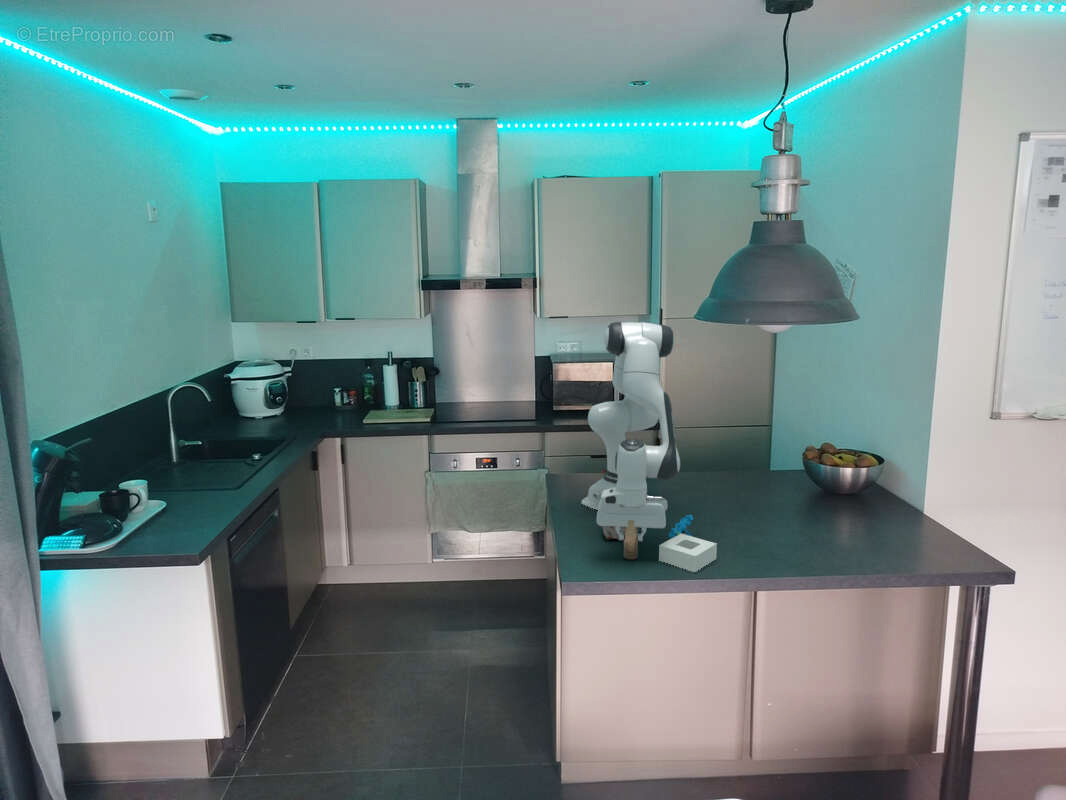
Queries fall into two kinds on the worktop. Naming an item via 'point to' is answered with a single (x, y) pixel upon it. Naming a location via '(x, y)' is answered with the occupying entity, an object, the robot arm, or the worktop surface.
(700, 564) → the fitting block
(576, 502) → the worktop surface
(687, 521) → the gear
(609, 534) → the food item
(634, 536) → the wooden peg
